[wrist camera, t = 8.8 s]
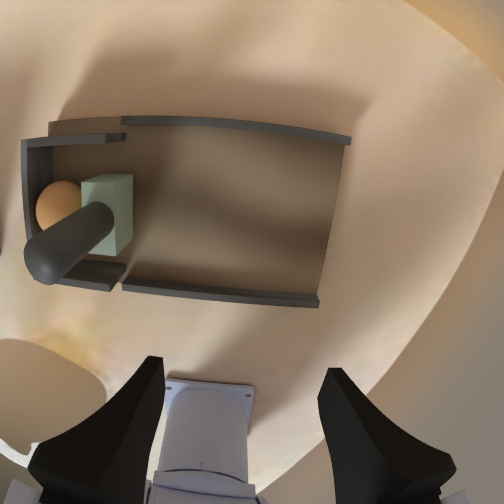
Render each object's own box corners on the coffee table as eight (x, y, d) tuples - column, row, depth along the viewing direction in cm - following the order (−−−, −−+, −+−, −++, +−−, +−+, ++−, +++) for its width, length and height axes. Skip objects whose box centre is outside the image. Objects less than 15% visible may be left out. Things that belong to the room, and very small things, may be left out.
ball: (54, 226, 18) (97, 228, 18) (29, 244, 15) (75, 248, 15) (51, 176, 17) (96, 176, 17) (23, 187, 13) (71, 187, 14)
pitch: (312, 293, 22) (325, 325, 18) (62, 268, 20) (36, 292, 17) (340, 136, 18) (364, 138, 14) (56, 121, 16) (22, 123, 12)
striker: (133, 237, 18) (70, 310, 10) (105, 235, 18) (33, 302, 10) (133, 174, 17) (56, 211, 9) (103, 173, 17) (17, 209, 9)
